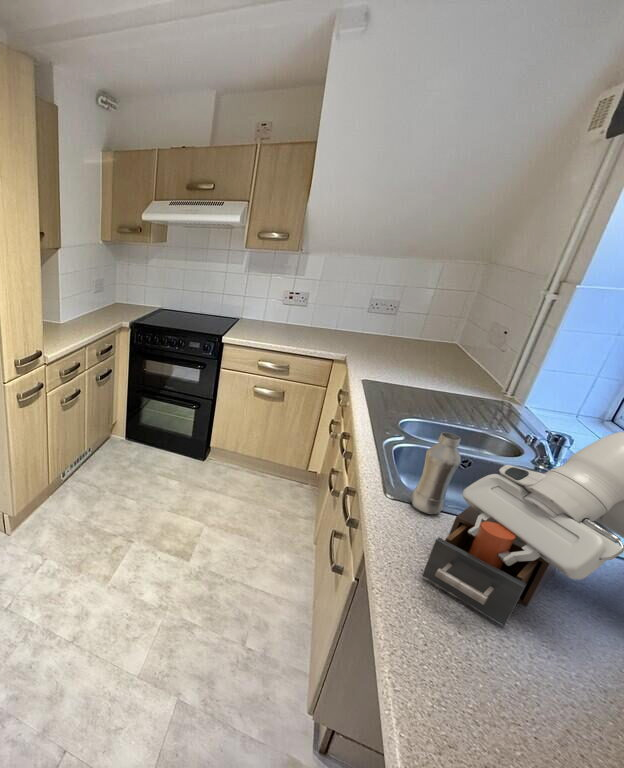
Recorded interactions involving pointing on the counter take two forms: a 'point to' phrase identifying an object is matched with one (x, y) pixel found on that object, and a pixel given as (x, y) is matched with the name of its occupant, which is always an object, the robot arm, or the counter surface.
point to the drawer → (478, 576)
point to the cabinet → (545, 568)
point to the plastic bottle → (437, 474)
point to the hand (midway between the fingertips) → (486, 548)
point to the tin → (491, 543)
